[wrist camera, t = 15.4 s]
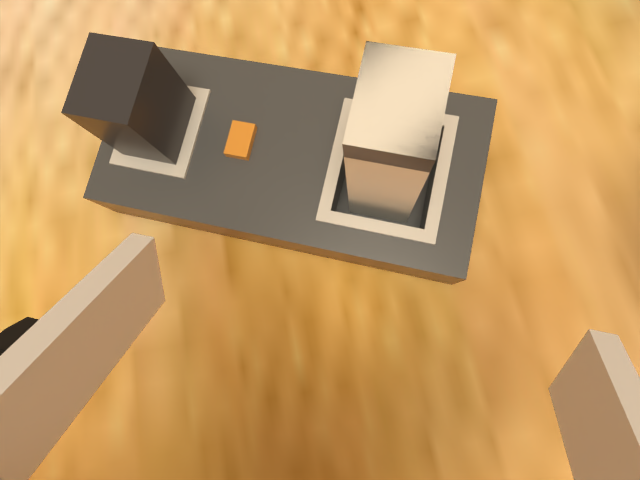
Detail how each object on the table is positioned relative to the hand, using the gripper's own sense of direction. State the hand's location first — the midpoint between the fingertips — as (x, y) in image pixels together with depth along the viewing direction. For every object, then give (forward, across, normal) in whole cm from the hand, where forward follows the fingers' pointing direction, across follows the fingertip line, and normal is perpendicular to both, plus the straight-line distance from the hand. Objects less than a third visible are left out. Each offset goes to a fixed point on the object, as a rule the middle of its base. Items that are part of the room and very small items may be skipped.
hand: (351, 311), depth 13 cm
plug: (+18, 0, -4) cm, 18 cm away
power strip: (+19, -7, -5) cm, 20 cm away
